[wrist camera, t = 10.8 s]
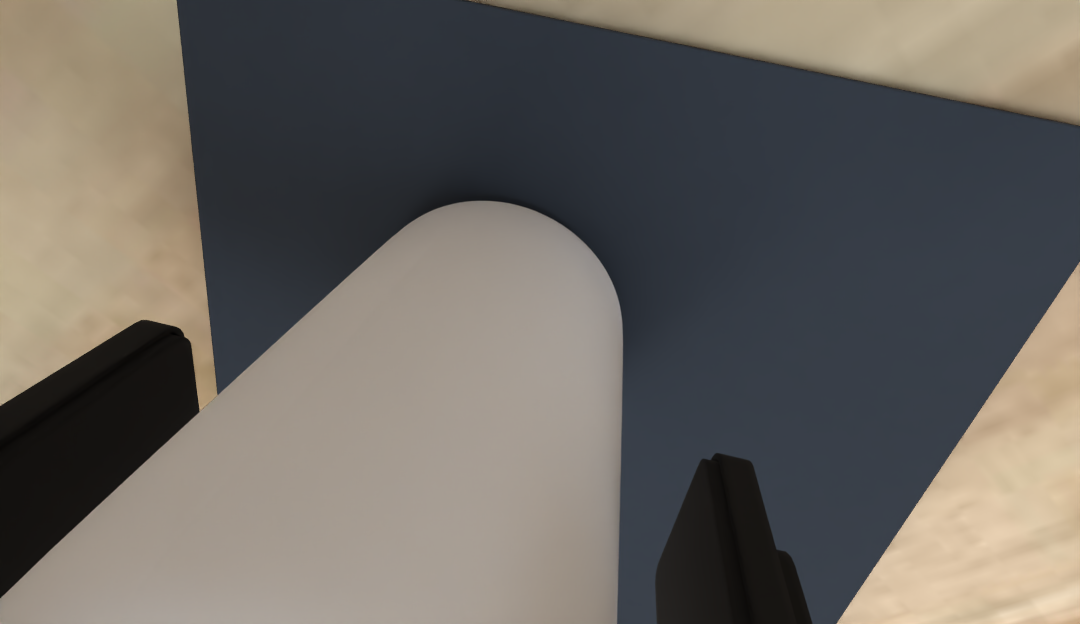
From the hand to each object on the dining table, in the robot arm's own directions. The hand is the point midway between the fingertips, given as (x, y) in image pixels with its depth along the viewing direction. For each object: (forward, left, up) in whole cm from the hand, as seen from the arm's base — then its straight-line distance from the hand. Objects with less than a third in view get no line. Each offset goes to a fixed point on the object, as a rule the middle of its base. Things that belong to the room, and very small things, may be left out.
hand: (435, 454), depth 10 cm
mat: (+2, -2, -6) cm, 6 cm away
